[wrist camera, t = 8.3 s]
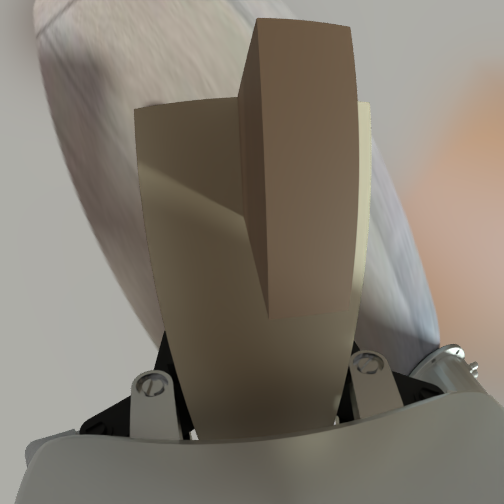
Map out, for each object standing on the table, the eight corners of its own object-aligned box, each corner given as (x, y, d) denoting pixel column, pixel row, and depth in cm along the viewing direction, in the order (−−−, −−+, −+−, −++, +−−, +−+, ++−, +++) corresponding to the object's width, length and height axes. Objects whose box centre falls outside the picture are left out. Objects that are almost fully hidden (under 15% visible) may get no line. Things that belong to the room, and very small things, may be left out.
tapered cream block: (294, 124, 10) (504, 83, 1) (288, 417, 15) (318, 545, 7) (184, 129, 10) (18, 74, 1) (223, 423, 15) (230, 556, 7)
